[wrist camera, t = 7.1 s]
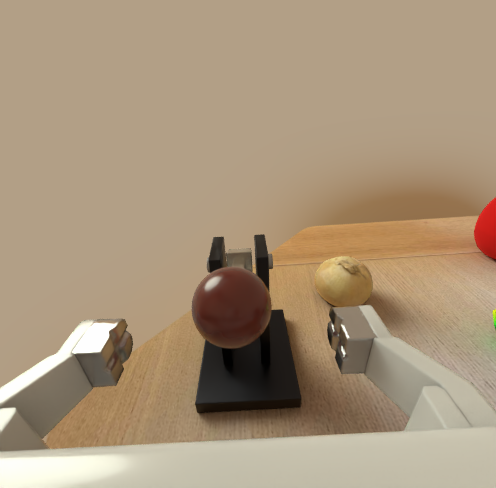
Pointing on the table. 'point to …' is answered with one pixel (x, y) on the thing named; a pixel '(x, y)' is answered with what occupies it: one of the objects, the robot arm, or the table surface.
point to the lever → (232, 303)
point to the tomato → (487, 230)
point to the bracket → (249, 357)
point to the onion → (343, 282)
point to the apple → (494, 317)
